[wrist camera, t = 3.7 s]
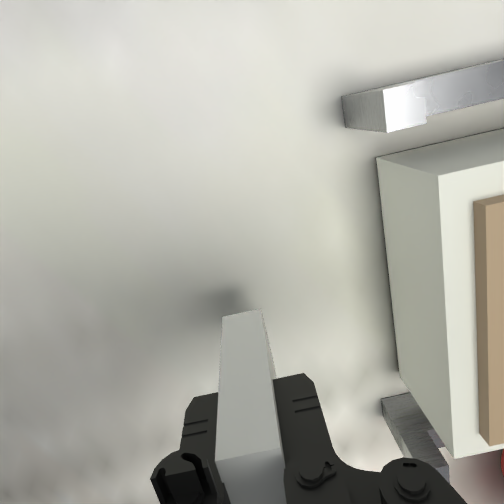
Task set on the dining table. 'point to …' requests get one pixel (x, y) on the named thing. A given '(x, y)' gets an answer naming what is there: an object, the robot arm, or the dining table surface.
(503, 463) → the flower pot
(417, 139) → the dining table surface
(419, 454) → the rail channel
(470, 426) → the block
